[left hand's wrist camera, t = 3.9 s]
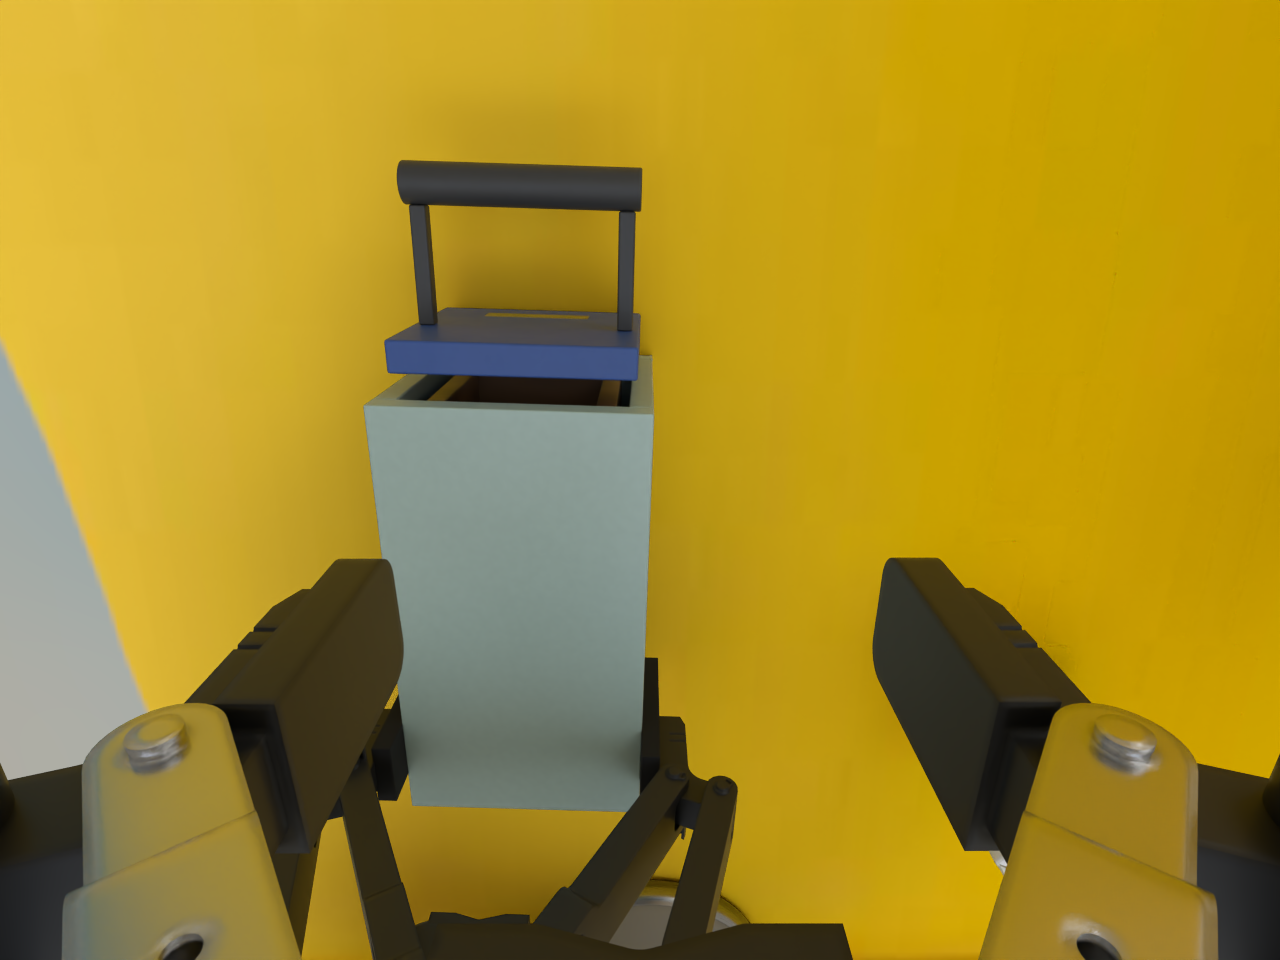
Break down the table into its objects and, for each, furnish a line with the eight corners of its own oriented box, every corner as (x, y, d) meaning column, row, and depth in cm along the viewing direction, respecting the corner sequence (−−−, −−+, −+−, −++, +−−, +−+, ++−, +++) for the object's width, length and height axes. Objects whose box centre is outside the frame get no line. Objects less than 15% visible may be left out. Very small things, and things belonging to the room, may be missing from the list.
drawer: (435, 166, 29) (363, 153, 22) (644, 173, 29) (644, 162, 22) (469, 628, 38) (425, 732, 30) (631, 632, 38) (627, 738, 30)
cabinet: (441, 348, 33) (362, 404, 24) (652, 355, 33) (654, 413, 24) (465, 666, 40) (411, 806, 31) (640, 671, 40) (638, 813, 31)
